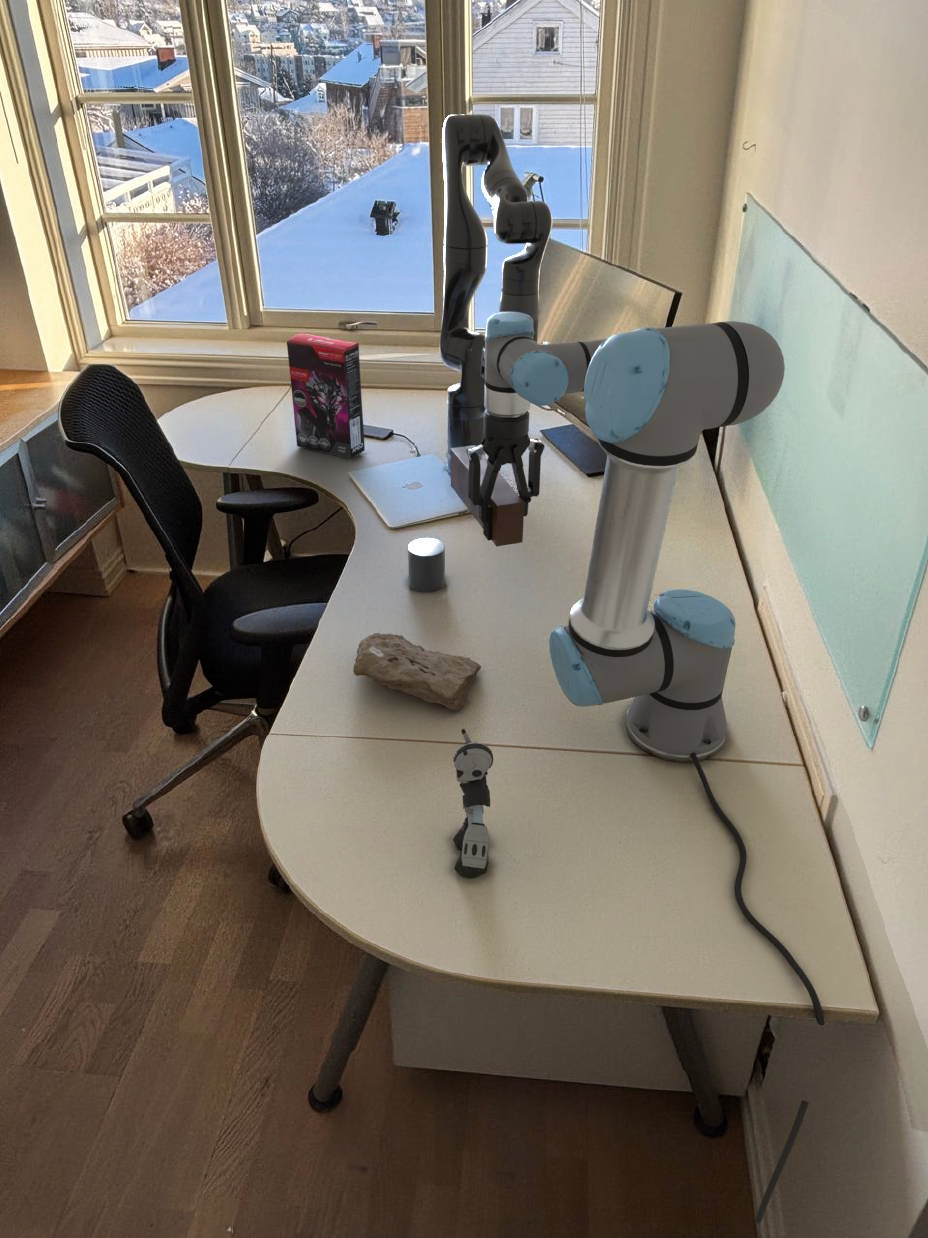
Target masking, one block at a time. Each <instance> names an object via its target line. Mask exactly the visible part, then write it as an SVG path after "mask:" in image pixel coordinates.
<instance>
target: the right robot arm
mask: <svg viewBox="0 0 928 1238" xmlns="http://www.w3.org/2000/svg"><path fill="white" fill-rule="evenodd" d="M485 335H486V336H485V403H484V407H485V409H486V411H485V412H484V438H483V440H482V442H481V445H480V446H477V447H475V448H471V447H468V448H467V449H466V452H467V455H468V458H469V491H468V498H469V499H470V501H471V502H472V503H473V505H479V519H480V521H481V522H482V523H483V528H482V534H483V536H484V537H485V539H486V540H487V541H490V542H491V541H492V528H493V506H492V505H491V504H490V499H491V496H492V492H493V489H494V485H495V482H496V478H497V475H498V472H499V473H500V471H501V469H502V466H504V465H507V464H509V465H511V468H512V473H513V476H514V481H515V485H516V489H517V494H518V495H519V496H520V497H521V499H522V500H523V501H524V517H527V516H528V514H529V504H530V503H531V502H532V498H533V497H539V495H540V488H541V486H540V485H541V462H542V455H543V453H544V450H545V447H546V446H545V443H543V442H542V441H541V440H540V439H539V438H538V437H537V438H533V439H532V438H530V436H529V430H530V412H529V410H530V409H531V404H532V405H535V406H538V407H545V406H550V405H552V404H553V403H555V402H557V401H558V400H560V399H561V398H562V397H563V396H564V395H566V394H575V393H583V401H585V407H584V415H585V419H586V422H587V425H588V427H589V429H590V431H591V432H592V434H593V435H594V437H596V438H597V440H596V441H597V443H598V445H599V447H600V449H601V450H602V451H603V452H604V453H605V454H606V460H605V461H606V462H605V467H604V468H605V469H604V473H603V480H602V486H601V492H600V497H599V503H598V510H597V516H596V522H595V529H594V533H593V541H592V545H591V552H590V559H589V564H588V569H587V576H586V582H585V589H584V595H583V597H582V598H580V599H579V600H577V601H576V602H575V604H573V606H572V607H571V609H570V613H569V619H568V623H567V625H566V626H563V625H560V626H558V627H557V628H555V629H553V630H551V632H550V634H549V639H548V648H549V654H550V660H551V664H552V668H553V671H554V675H555V677H556V680H557V682H558V685H559V687H560V689H561V691H562V692H563V694H564V696H565V697H566V698H567V700H568V701H569V702H570V703H571V704H573V705H574V706H577V707H581V708H584V707H592V706H603V705H605V704H609V703H614V702H618V701H623V700H626V699H627V700H628V699H632V698H633V699H632V701H631V702H630V704H629V706H628V708H627V713H626V719H625V728H626V732H627V734H628V736H629V738H630V739H631V741H632V742H634V744H636V745H637V746H638V747H639V748H640V749H641V750H643V751H645V752H646V753H648V754H650V755H651V756H654V757H656V758H659V759H662V760H666V761H670V762H675V763H693V764H694V767H695V769H696V771H697V774H698V776H699V778H700V781H701V784H702V786H703V789H704V792H705V794H706V796H707V798H708V800H709V802H710V804H711V806H712V808H713V810H714V811H715V813H716V814H717V816H718V817H719V819H720V820H721V821H722V822H723V823H724V825H725V826H726V827H727V829H728V830H729V832H730V833H731V834H732V836H733V838H734V839H735V842H736V844H737V846H738V851H739V863H738V869H737V872H736V876H735V880H734V895H735V896H734V897H735V900H736V902H737V905H738V907H739V909H740V911H741V913H742V914H743V915H744V917H745V918H746V919H747V921H748V922H749V923H750V924H751V925H752V926H753V927H754V929H756V930H757V931H758V932H759V934H761V935H762V936H763V937H764V938H765V939H766V940H768V941H769V942H770V943H771V944H772V945H773V946H774V947H775V948H776V949H777V950H778V951H779V952H780V954H781V955H782V956H783V957H784V959H785V960H786V961H787V962H788V964H789V965H790V967H791V968H792V970H793V971H794V972H795V974H796V975H797V977H798V978H799V979H800V981H801V982H802V984H803V985H804V987H805V989H806V991H807V993H808V995H809V998H810V1000H811V1003H812V1006H813V1011H814V1015H815V1019H816V1022H817V1024H818V1025H819V1026H824V1025H825V1017H824V1012H823V1009H822V1005H821V1002H820V999H819V996H818V993H817V991H816V989H815V988H814V986H813V983H812V982H811V980H810V979H809V977H808V976H807V974H806V973H805V972H804V970H803V968H801V966H800V965H799V963H798V962H797V960H796V959H795V958H794V956H793V955H792V954H791V953H790V951H789V950H788V949H787V948H786V946H784V945H783V943H782V942H781V941H780V940H779V939H778V938H777V937H775V935H774V934H772V933H771V931H769V930H768V929H767V928H766V927H765V926H763V925H762V924H761V923H760V921H758V919H756V918H755V916H754V915H753V914H752V912H751V911H750V910H749V908H748V906H747V905H746V903H745V900H744V898H743V893H742V892H743V891H742V884H743V879H744V874H745V871H746V867H747V858H748V856H747V855H748V854H747V849H746V846H745V843H744V841H743V839H742V836H741V835H740V833H739V831H738V829H737V828H736V826H735V825H734V824H733V822H732V821H731V820H730V819H729V818H728V816H727V815H726V814H725V812H724V811H723V810H722V808H721V807H720V806H719V803H718V802H717V800H716V798H715V796H714V794H713V791H712V789H711V786H710V784H709V781H708V779H707V776H706V774H705V772H704V770H703V767H702V764H701V762H700V761H703V760H706V759H709V758H711V757H714V755H716V754H718V752H720V751H721V750H722V748H723V747H724V744H725V743H726V740H727V739H726V738H727V733H728V721H727V716H726V712H725V708H724V707H725V706H724V701H723V692H724V686H725V682H726V678H727V677H726V676H727V672H728V668H729V663H730V659H731V654H732V651H733V650H732V649H733V647H734V645H735V642H736V641H735V634H736V617H735V616H734V614H733V612H732V611H731V609H730V608H729V607H728V606H727V605H726V604H724V603H723V602H722V601H720V600H719V599H717V598H715V597H713V596H711V595H709V594H706V593H703V592H700V591H697V590H692V589H683V588H677V589H676V588H675V589H667V590H665V591H663V592H661V593H660V594H659V595H658V596H657V597H656V599H655V600H654V602H653V609H652V610H649V609H648V608H649V603H650V599H651V594H652V590H653V585H654V581H655V577H656V572H657V568H658V563H659V560H660V555H661V550H662V545H663V540H664V537H665V532H666V527H667V524H668V519H669V515H670V510H671V505H672V501H673V497H674V492H675V488H676V482H677V479H678V475H679V470H680V467H681V466H684V465H685V464H687V463H689V462H690V461H691V460H693V459H694V457H695V456H696V453H697V451H698V445H699V441H700V437H701V433H702V432H703V431H704V430H710V429H711V430H712V429H716V428H717V429H718V428H724V427H729V426H736V425H740V424H742V423H745V422H747V421H750V420H752V419H754V418H755V417H757V416H758V415H760V414H761V413H763V412H764V411H765V410H766V409H767V408H769V406H770V405H771V404H773V402H774V400H775V399H776V398H777V396H778V394H779V392H780V390H781V388H782V385H783V382H784V378H785V370H786V369H785V367H786V365H785V358H784V354H783V351H782V348H781V347H780V345H779V342H777V340H776V339H775V338H774V337H773V336H772V335H771V333H769V332H768V331H767V330H765V328H762V327H760V326H758V325H755V324H753V323H748V322H745V321H736V320H729V321H718V322H709V323H701V324H699V323H698V324H690V325H676V326H668V327H667V326H665V327H657V328H655V327H652V326H651V327H645V326H644V327H641V328H637V329H634V330H632V331H626V332H625V331H624V332H619V333H616V334H612V335H611V336H610V337H608V338H599V339H590V340H582V341H578V340H577V341H567V342H558V343H557V342H556V343H550V344H547V345H540V344H541V343H538V341H537V342H535V341H534V340H533V335H534V327H533V319H532V318H531V317H530V316H529V315H527V314H524V313H519V312H500V313H499V312H496V313H494V314H491V315H490V316H489V317H488V318H487V320H486V327H485ZM527 449H528V470H527V471H528V472H527V473H528V474H527V479H526V475H525V470H524V463H523V455H524V453H525V452H526V451H527ZM483 452H485V453H486V456H487V458H486V459H487V468H486V471H485V475H484V479H483V482H482V486H481V489H480V471H481V465H480V460H482V454H483ZM809 1103H810V1102H809V1101H806V1100H801V1101H800V1104H799V1107H798V1110H797V1113H796V1116H795V1118H794V1121H793V1124H792V1126H791V1129H790V1132H789V1133H788V1137H787V1140H786V1142H785V1144H784V1147H783V1149H782V1152H781V1154H780V1156H779V1159H778V1161H777V1163H776V1166H775V1168H774V1170H773V1172H772V1175H771V1177H770V1179H769V1181H768V1184H767V1187H766V1189H765V1191H764V1194H763V1197H762V1199H761V1201H760V1204H759V1207H758V1210H757V1211H756V1215H755V1218H754V1221H755V1223H756V1224H761V1223H762V1221H763V1219H764V1216H765V1212H766V1210H767V1207H768V1205H769V1203H770V1200H771V1198H772V1195H773V1193H774V1192H775V1188H776V1186H777V1184H778V1181H779V1179H780V1177H781V1174H782V1173H783V1170H784V1167H785V1165H786V1163H787V1161H788V1158H789V1156H790V1153H792V1152H791V1151H792V1150H793V1147H794V1144H795V1143H796V1140H797V1137H798V1135H799V1132H800V1129H801V1127H802V1124H803V1121H804V1119H805V1116H806V1113H807V1110H808V1106H809Z"/></svg>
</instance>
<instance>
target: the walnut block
mask: <svg viewBox="0 0 928 1238" xmlns="http://www.w3.org/2000/svg"><path fill="white" fill-rule="evenodd" d="M468 447H471V448H475V447H476V446H475V445H473V446H465V447H458V448H451V473H450V488H452V489H453V491H454V492H455V494H456V495H457V496H458V498H459V499H460V500H461V501H462V503H463V504H464V506H465V507H466V508H467V510H468V511H469V512H470V514H471V515H472V516H473V517H474V519H475V521H477V523H478V524H479V526H480V528H481V529H483V523H482V522H481V521H480V519H479V505H473V503H472V502H471V501H470V499H469V498H468V491H469V458H468V455H467V452H466V449H467V448H468ZM487 459H488V458H487V456H486V457H485V456H484V455H483V454H482V460H480V465H481V471H480V489H481V486H482V482H483V479H484V475H485V471H486V468H487ZM490 504H491V505H492V506H493V528H492V540H491V542H492V543H493V544H494V546H495V547H496V548H497V547H502V546H509V545H515V544H521V543H523V541H524V540H523V539H524V520H525V519H524V518H525V516H524V501H523V500H522V499H521V497H520V496H519V494H518V492H516V490H515V489H514V488H513V486H512V485H510V484H509V482H508V481H507V480H506V479H505V478H504V477H503V475H502V474H501V473H500V471H499V472H498V475H497V478H496V482H495V485H494V489H493V492H492V496H491V499H490Z"/></svg>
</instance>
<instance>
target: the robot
mask: <svg viewBox="0 0 928 1238" xmlns="http://www.w3.org/2000/svg"><path fill="white" fill-rule="evenodd" d="M461 734H462V737H463V739H464V742H465V744H463V745H461V746H460V747H459V748H458V749H457V750H456V751H455V753H454V756H453V757H452V760H453V768H455V772H456V774H455V775H456V781H457V782H458V783H459V786H460V789H461V791H462V793H463V794H462V809H464V812H465V814H466V817H465V818H464V821H463V823H462V826H461V827H460V829H459V830H458V831H457V833H456V834H455V835H454V837H453V838H452V841H453V843H454V846H455V847H456V849H457V850H459V851H460V853H459V855H458V858H457V859H456V863H455V865H454V870H455V871H456V872H457V873H458V874H459V875H460V876H461V877H464V878H468V879H472V878H477V877H479V876H481V875H483V874H486V873H487V872H488V867H489V863H490V862H489V848H490V834H489V831H488V826H486V824H485V823H484V818H483V817H484V816H483V815H484V813H485V812H484V810H485V809H484V806H485V807H487V808H491V792H490V788H489V785H488V784H487V775H488V771H489V769H491V768H492V766H493V764H494V755H493V751H492V750H491V749H490V747H488V746H487V745H486V744H484V743H482V742H479V741H476V740H475V741H472V740H471V738H470V736H469V735H468V733H467V730H466V729H465V728H462V729H461Z"/></svg>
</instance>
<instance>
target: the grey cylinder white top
mask: <svg viewBox="0 0 928 1238" xmlns="http://www.w3.org/2000/svg"><path fill="white" fill-rule="evenodd" d="M407 562H408V564H407V565H408V585H409V587H410V588H411V589H413V590H414V591H417V592H420V593H433V592H437V591H440V590H441V589H442V588H444V586H445V585H446V546H445V544H444V542H443V541H441V540H439V539H437V538H433V537H421V538H417V539H414V540H412V541H410V542H409V544H408V545H407Z"/></svg>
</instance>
